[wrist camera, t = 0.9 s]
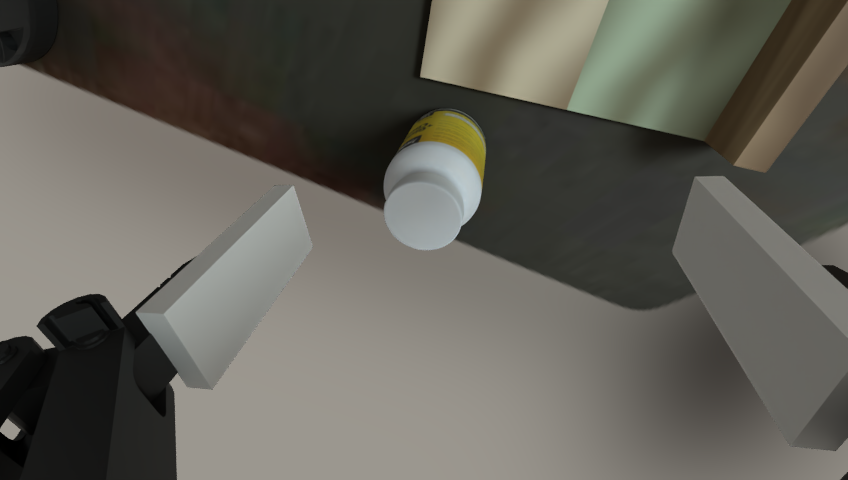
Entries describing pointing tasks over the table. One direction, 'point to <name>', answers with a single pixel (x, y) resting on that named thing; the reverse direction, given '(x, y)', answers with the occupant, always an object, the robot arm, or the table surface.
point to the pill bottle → (435, 179)
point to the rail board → (652, 62)
